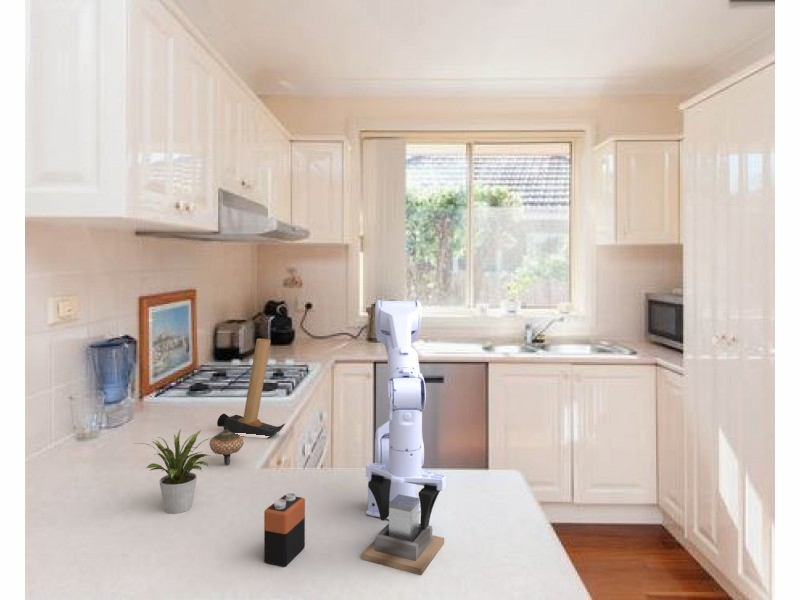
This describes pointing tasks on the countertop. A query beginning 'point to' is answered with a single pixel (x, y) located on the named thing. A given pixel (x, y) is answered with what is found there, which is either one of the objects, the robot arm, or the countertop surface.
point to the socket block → (404, 550)
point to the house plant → (178, 474)
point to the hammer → (252, 399)
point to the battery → (284, 529)
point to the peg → (404, 518)
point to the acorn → (226, 444)
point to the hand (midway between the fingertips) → (404, 522)
